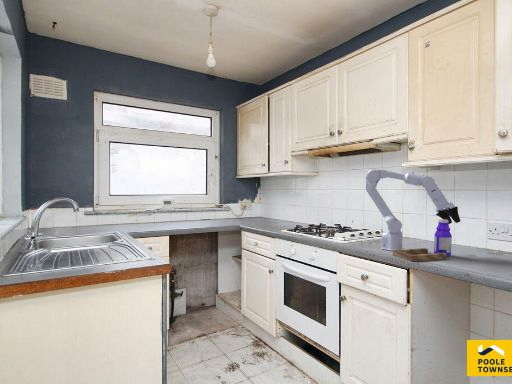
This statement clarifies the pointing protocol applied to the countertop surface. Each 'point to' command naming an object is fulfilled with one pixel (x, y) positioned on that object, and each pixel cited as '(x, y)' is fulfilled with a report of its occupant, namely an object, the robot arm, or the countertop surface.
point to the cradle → (418, 254)
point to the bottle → (443, 238)
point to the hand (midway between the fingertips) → (454, 222)
